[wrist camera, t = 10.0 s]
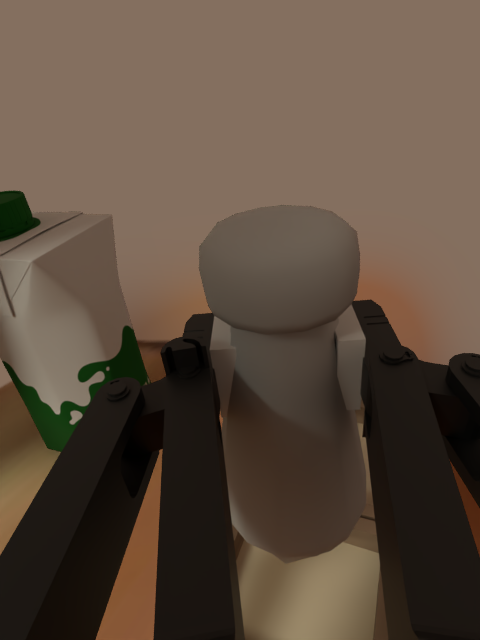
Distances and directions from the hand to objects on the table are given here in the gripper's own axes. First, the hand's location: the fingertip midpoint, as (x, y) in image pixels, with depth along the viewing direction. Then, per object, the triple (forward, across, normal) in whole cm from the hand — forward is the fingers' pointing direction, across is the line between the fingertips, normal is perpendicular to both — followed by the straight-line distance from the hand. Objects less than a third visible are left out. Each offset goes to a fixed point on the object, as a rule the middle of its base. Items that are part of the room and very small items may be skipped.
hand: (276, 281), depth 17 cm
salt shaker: (-5, 0, -8) cm, 10 cm away
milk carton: (+9, -15, -18) cm, 25 cm away
